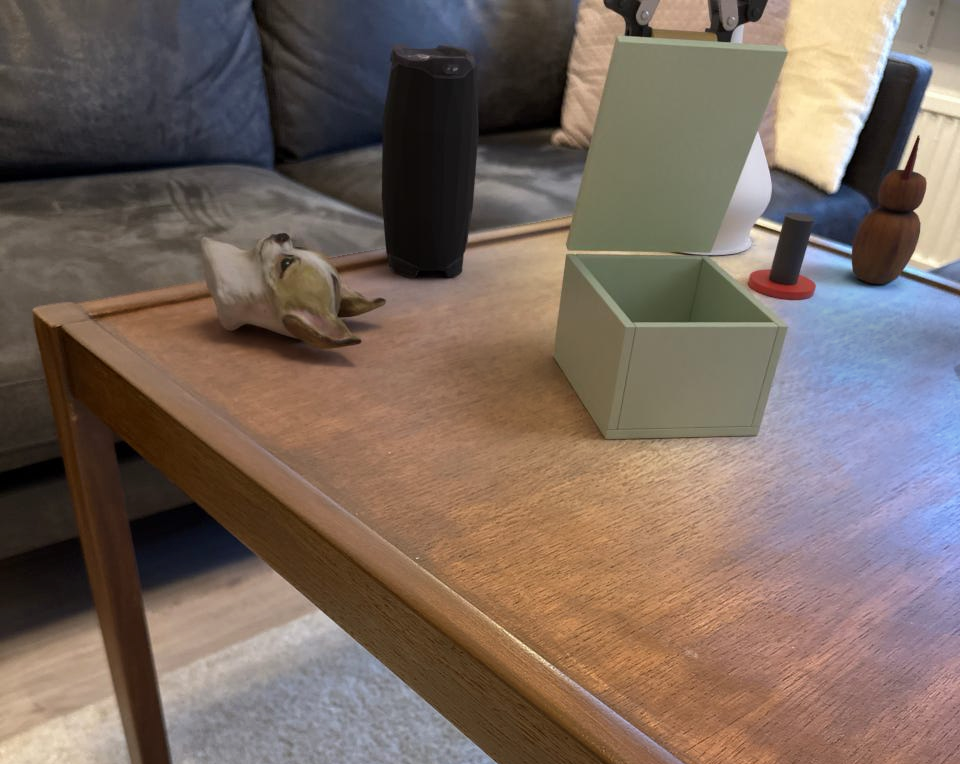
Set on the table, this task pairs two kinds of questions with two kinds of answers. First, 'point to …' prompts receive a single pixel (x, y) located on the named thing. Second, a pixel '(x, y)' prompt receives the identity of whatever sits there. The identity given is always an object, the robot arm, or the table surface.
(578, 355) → the chest
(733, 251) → the vase
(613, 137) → the chest lid
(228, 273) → the ceramic sculpture
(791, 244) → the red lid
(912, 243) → the wooden figurine
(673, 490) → the table surface
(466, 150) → the portable speaker
